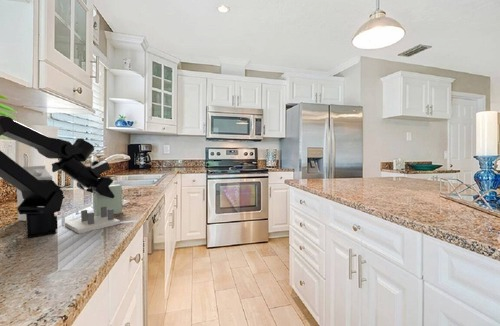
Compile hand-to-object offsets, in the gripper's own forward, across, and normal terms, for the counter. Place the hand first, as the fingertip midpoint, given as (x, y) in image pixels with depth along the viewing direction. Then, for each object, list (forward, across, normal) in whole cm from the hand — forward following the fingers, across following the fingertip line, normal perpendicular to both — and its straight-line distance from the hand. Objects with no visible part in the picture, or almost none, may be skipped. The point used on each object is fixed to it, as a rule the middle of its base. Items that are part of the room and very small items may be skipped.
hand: (111, 196), depth 95 cm
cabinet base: (-3, -10, +12) cm, 16 cm away
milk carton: (-9, +14, +19) cm, 25 cm away
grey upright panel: (+4, 0, +6) cm, 7 cm away
